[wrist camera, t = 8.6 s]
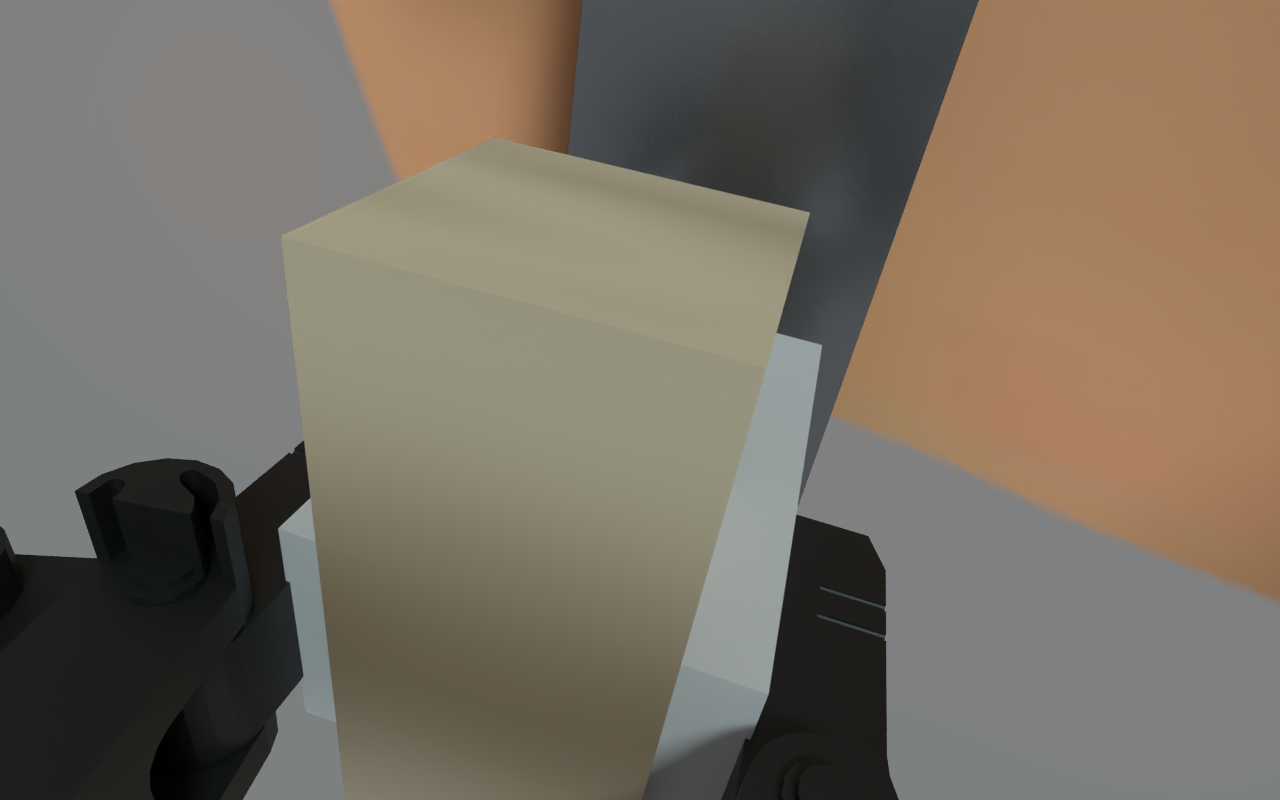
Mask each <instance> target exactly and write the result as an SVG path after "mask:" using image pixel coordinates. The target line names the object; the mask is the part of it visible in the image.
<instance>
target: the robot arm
mask: <svg viewBox="0 0 1280 800" xmlns="http://www.w3.org/2000/svg"><path fill="white" fill-rule="evenodd" d="M821 350H822V345H820V344H816V343H812V342H809V341H805V340H801V339H797V338H793V337H790V336H786V335H782V334H778V333H776V336H775V339H774V343H773V347H772V350H771V354H770V357H769V361H768V364H767V368H766V372H765V375H764V378H763V382H762V385H761V389H760V392H759V396H758V399H757V403H756V406H755V410H754V413H753V417H752V420H751V424H750V427H749V431H748V434H747V438H746V441H745V444H744V448H743V451H742V455H741V458H740V462H739V465H738V469H737V472H736V476H735V479H734V483H733V486H732V490H731V493H730V497H729V500H728V503H727V507H726V510H725V514H724V517H723V521H722V524H721V528H720V531H719V535H718V538H717V542H716V545H715V549H714V552H713V556H712V559H711V563H710V566H709V569H708V573H707V576H706V580H705V583H704V587H703V590H702V594H701V597H700V601H699V604H698V608H697V611H696V615H695V618H694V622H693V625H692V629H691V632H690V635H689V639H688V642H687V646H686V649H685V653H684V656H683V660H682V663H681V667H680V670H679V674H678V677H677V681H676V684H675V688H674V691H673V694H672V698H671V701H670V705H669V708H668V712H667V715H666V719H665V722H664V726H663V729H662V733H661V736H660V740H659V743H658V747H657V750H656V754H655V757H654V760H653V764H652V767H651V771H650V774H649V778H648V781H647V785H646V788H645V792H644V795H643V799H642V800H899V799H898V797H897V794H896V792H895V789H894V786H893V784H892V781H891V778H890V775H889V767H888V760H887V726H886V725H887V721H886V720H887V719H886V718H887V716H886V715H887V714H886V641H884V639H885V635H886V612H885V611H884V609H885V605H886V577H885V576H886V575H885V574H886V570H885V569H884V566H883V565H882V562H881V561H880V558H879V557H878V554H877V553H876V551H875V549H874V547H873V545H872V543H871V541H870V539H869V537H868V536H866V535H863V534H859V533H856V532H853V531H849V530H846V529H843V528H839V527H836V526H833V525H829V524H825V523H823V522H819V521H816V520H813V519H809V518H806V517H802V516H799V515H796V512H797V506H798V499H799V493H800V486H801V480H802V473H803V467H804V460H805V454H806V447H807V441H808V434H809V428H810V421H811V415H812V408H813V402H814V395H815V389H816V382H817V376H818V369H819V363H820V356H821ZM75 493H76V496H77V499H78V502H79V505H80V508H81V511H82V514H83V517H84V520H85V523H86V526H87V529H88V532H89V534H90V537H91V540H92V544H93V547H94V550H95V552H96V555H97V558H77V557H58V556H38V555H19V554H18V555H17V554H14V552H13V549H12V547H11V545H10V542H9V540H8V538H7V535H6V533H5V530H3V528H2V527H0V800H243V798H244V796H245V795H246V793H247V791H248V790H249V787H250V786H251V784H252V783H253V781H254V779H255V777H256V776H257V774H258V772H259V771H260V769H261V767H262V766H263V763H264V762H265V760H266V759H267V757H268V755H269V753H270V752H271V749H272V746H273V743H274V740H275V737H276V735H277V732H278V727H277V718H276V710H277V709H278V707H279V706H280V705H281V704H282V702H283V701H284V700H285V699H286V697H287V696H288V695H289V693H290V692H291V691H292V690H293V689H294V688H295V686H296V685H297V684H298V682H299V681H300V680H301V684H302V691H303V698H304V704H305V711H306V712H309V713H312V714H314V715H317V716H320V717H322V718H325V719H328V720H330V721H333V722H336V715H335V706H334V697H333V688H332V680H331V671H330V662H329V654H328V645H327V636H326V627H325V619H324V610H323V601H322V592H321V584H320V575H319V566H318V558H317V549H316V540H315V531H314V523H313V514H312V505H311V497H310V488H309V479H308V470H307V462H306V453H305V444H304V441H303V442H302V443H300V444H299V445H298V446H297V447H296V448H295V450H294V452H293V454H291V453H288V454H287V455H286V456H285V457H284V458H282V459H281V460H280V461H279V462H277V463H276V464H275V465H274V466H273V467H272V468H270V469H269V470H268V471H267V472H266V473H264V474H263V475H262V476H261V477H259V478H258V479H257V480H256V481H255V482H253V483H252V484H251V485H250V486H249V487H247V488H246V489H245V490H244V491H243V492H241V493H240V494H239V495H238V496H237V497H236V496H235V490H234V485H233V482H232V481H231V480H230V479H229V478H228V477H227V476H226V475H225V474H224V473H223V472H222V471H221V470H220V469H218V468H215V467H213V466H210V465H208V464H205V463H202V462H200V461H197V460H183V459H182V460H181V459H169V458H166V459H159V460H152V461H145V462H138V463H133V464H130V465H127V466H124V467H121V468H119V469H116V470H113V471H110V472H107V473H104V474H102V475H100V476H98V477H97V478H95V479H93V480H92V481H90V482H89V483H87V484H85V485H84V486H82V487H81V488H79V489H77V490H76V491H75Z"/></svg>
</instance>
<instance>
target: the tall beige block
mask: <svg viewBox="0 0 1280 800" xmlns="http://www.w3.org/2000/svg"><path fill="white" fill-rule="evenodd" d="M978 1H979V0H583V2H582V12H581V22H580V32H579V42H578V52H577V62H576V72H575V83H574V93H573V103H572V113H571V123H570V133H569V143H568V153H567V155H566V154H562V153H558V152H554V151H550V150H545V149H541V148H537V147H533V146H529V145H525V144H520V143H516V142H512V141H508V140H504V139H499V138H493V139H490V140H488V141H486V142H484V143H482V144H480V145H477V146H475V147H473V148H471V149H469V150H467V151H464V152H462V153H460V154H458V155H456V156H454V157H451V158H449V159H447V160H445V161H443V162H441V163H438V164H436V165H434V166H432V167H430V168H428V169H425V170H423V171H421V172H419V173H417V174H414V175H412V176H410V177H408V178H406V179H404V180H401V181H399V182H397V183H395V184H393V185H391V186H388V187H386V188H384V189H382V190H380V191H378V192H376V193H373V194H371V195H370V196H367V197H365V198H362V199H360V200H358V201H356V202H354V203H352V204H349V205H347V206H345V207H343V208H341V209H338V210H337V211H334V212H332V213H330V214H328V215H326V216H324V217H321V218H319V219H317V220H315V221H312V222H310V223H308V224H306V225H304V226H302V227H299V228H297V229H295V230H293V231H291V232H289V233H286V234H284V235H282V236H281V244H282V252H283V260H284V270H285V278H286V287H287V295H288V304H289V313H290V322H291V331H292V339H293V348H294V357H295V365H296V374H297V383H298V392H299V401H300V409H301V418H302V427H303V435H304V444H305V453H306V462H307V470H308V479H309V488H310V497H311V505H312V514H313V523H314V531H315V540H316V549H317V558H318V566H319V575H320V584H321V592H322V601H323V610H324V619H325V627H326V636H327V645H328V654H329V662H330V671H331V680H332V688H333V697H334V706H335V715H336V723H337V732H338V741H339V750H340V758H341V767H342V776H343V784H344V793H345V800H642V799H643V795H644V792H645V788H646V785H647V781H648V778H649V774H650V771H651V767H652V764H653V760H654V757H655V754H656V750H657V747H658V743H659V740H660V736H661V733H662V729H663V726H664V722H665V719H666V715H667V712H668V708H669V705H670V701H671V698H672V694H673V691H674V688H675V684H676V681H677V677H678V674H679V670H680V667H681V663H682V660H683V656H684V653H685V649H686V646H687V642H688V639H689V635H690V632H691V629H692V625H693V622H694V618H695V615H696V611H697V608H698V604H699V601H700V597H701V594H702V590H703V587H704V583H705V580H706V576H707V573H708V569H709V566H710V563H711V559H712V556H713V552H714V549H715V545H716V542H717V538H718V535H719V531H720V528H721V524H722V521H723V517H724V514H725V510H726V507H727V503H728V500H729V497H730V493H731V490H732V486H733V483H734V479H735V476H736V472H737V469H738V465H739V462H740V458H741V455H742V451H743V448H744V444H745V441H746V438H747V434H748V431H749V427H750V424H751V420H752V417H753V413H754V410H755V406H756V403H757V399H758V396H759V392H760V389H761V385H762V382H763V378H764V375H765V372H766V368H767V364H768V361H769V357H770V354H771V350H772V347H773V343H774V339H775V336H776V333H778V334H782V335H786V336H790V337H793V338H797V339H801V340H805V341H809V342H812V343H816V344H820V345H822V350H821V356H820V363H819V369H818V376H817V382H816V389H815V395H814V402H813V408H812V415H811V421H810V428H809V434H808V441H807V447H806V454H805V460H804V467H803V473H802V480H801V486H800V493H799V499H798V505H799V502H800V499H801V496H802V494H803V491H804V488H805V485H806V482H807V480H808V477H809V474H810V471H811V468H812V465H813V463H814V460H815V457H816V454H817V452H818V449H819V446H820V443H821V440H822V438H823V435H824V432H825V429H826V426H827V424H828V421H829V418H830V415H831V412H832V410H833V407H834V404H835V401H836V398H837V396H838V393H839V390H840V387H841V384H842V382H843V379H844V376H845V373H846V370H847V368H848V365H849V362H850V359H851V356H852V354H853V351H854V348H855V345H856V342H857V340H858V337H859V334H860V331H861V328H862V326H863V323H864V320H865V317H866V314H867V312H868V309H869V306H870V303H871V300H872V298H873V295H874V292H875V289H876V286H877V284H878V281H879V278H880V275H881V272H882V270H883V267H884V264H885V261H886V258H887V256H888V253H889V250H890V247H891V244H892V242H893V239H894V236H895V233H896V230H897V228H898V225H899V222H900V219H901V216H902V214H903V211H904V208H905V205H906V202H907V200H908V197H909V194H910V191H911V188H912V186H913V183H914V180H915V177H916V174H917V172H918V169H919V166H920V163H921V160H922V158H923V155H924V152H925V149H926V146H927V144H928V141H929V138H930V135H931V132H932V130H933V127H934V124H935V121H936V118H937V116H938V113H939V110H940V107H941V104H942V102H943V99H944V96H945V93H946V90H947V88H948V85H949V82H950V79H951V76H952V74H953V71H954V68H955V65H956V62H957V60H958V57H959V54H960V51H961V48H962V46H963V43H964V40H965V37H966V34H967V32H968V29H969V26H970V23H971V20H972V18H973V15H974V12H975V9H976V6H977V4H978ZM797 508H798V506H797Z"/></svg>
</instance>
